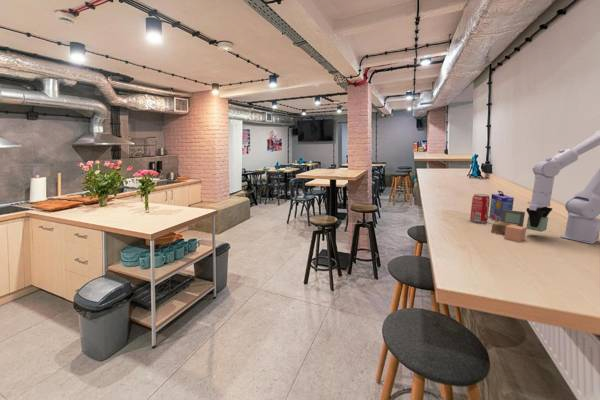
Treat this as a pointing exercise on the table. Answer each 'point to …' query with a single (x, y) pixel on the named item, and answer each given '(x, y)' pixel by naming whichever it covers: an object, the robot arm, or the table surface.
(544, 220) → the green block
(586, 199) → the robot arm
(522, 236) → the terracotta block
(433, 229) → the table surface
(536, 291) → the table surface
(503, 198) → the ink cartridge box
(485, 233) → the table surface
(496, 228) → the walnut block
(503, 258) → the table surface
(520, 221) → the board
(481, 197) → the soda can
